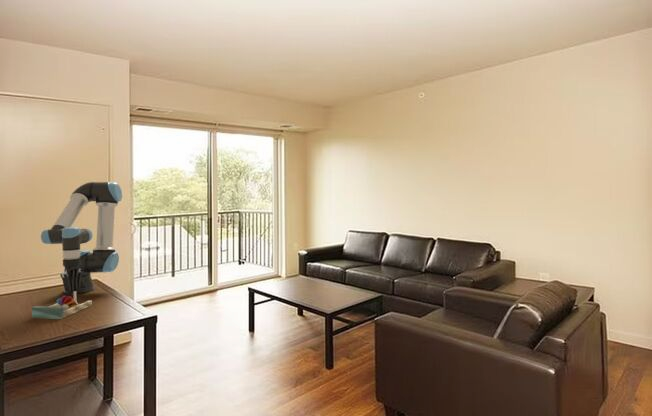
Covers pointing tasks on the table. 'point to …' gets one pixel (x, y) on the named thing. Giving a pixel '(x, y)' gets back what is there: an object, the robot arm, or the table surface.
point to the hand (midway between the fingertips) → (73, 304)
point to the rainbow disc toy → (66, 302)
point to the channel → (57, 311)
